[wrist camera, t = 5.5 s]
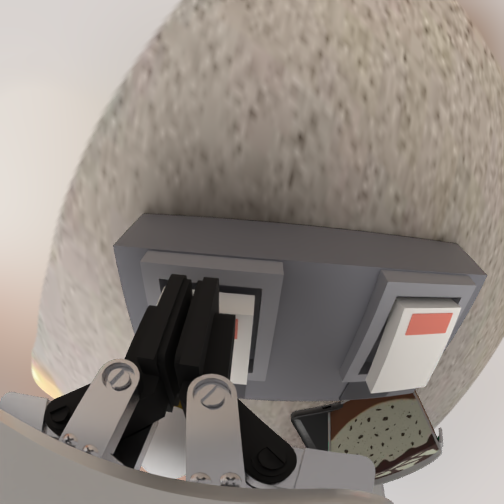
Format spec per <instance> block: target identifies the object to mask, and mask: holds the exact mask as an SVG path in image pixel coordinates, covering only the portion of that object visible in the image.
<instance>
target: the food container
mask: <svg viewBox="0 0 504 504" xmlns="http://www.w3.org/2000/svg"><path fill="white" fill-rule="evenodd" d="M341 404H343V408H341V409H339V410H334V411H332V412H329V413H328V451H330V452H337V453H345V454H355V455H362V456H366V457H368V458H369V459H370V460H372V462H373V464H374V466H375V480H374V486H377V485H380V484H384V483H387V482H390V481H393V480H396V479H399V478H401V477H404V476H406V475H408V474H411V473H413V472H415V471H417V470H419V469H421V468H423V467H425V466H427V465H428V464H430V463H431V462H433V461H434V460H436V459H437V458H438V457H439V456H440V455H441V454H442V450H441V448H442V447H443V437H442V429H441V428H439V436H438V438H437V436H436V434H435V432H434V429H433V427H432V425H431V422H430V420H429V418H428V416H427V414H426V411H425V409H424V407H423V405H422V403H421V401H420V399H419V397H418V395H417V393H416V391H414V392H413V393H410V394H403V395H396V396H388V397H379V398H368V399H356V400H344V401H342V402H341ZM329 408H331V407H329Z"/></svg>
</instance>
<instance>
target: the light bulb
mask: <svg viewBox="0 0 504 504" xmlns="http://www.w3.org/2000/svg"><path fill="white" fill-rule="evenodd" d="M141 466H142V467H143V468H144V469H145V470H146V471H147V472H149V473H151V474H155V475H159V476H164V477H168V478H173V479H176V478H180V477H183V476H185V475H186V418H185V415H184V412H183V409H182V405H181V402H179V405H178V406H174V407H173V411H172V413H171V412H166V414H165V417H163V418H162V419H160V420H159V424H158V427H157V429H156V431H155V434H154V436H153V438H152V441H151V443H150V446H149V448H148V451H147V453H146V455H145V458H144V460H143V463H142V465H141Z"/></svg>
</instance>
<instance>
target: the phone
mask: <svg viewBox="0 0 504 504" xmlns="http://www.w3.org/2000/svg"><path fill="white" fill-rule="evenodd" d="M328 406H331V408H326V409H323V407H328ZM341 408H343V404H341V402H339V403H334V404H330V405H325V406H320V407H315V408H309V409H304V410H298V411H295V412H293V413H292V414H291V422H292V423H293V425H294V427H295V429H296V430H297V432H298V434H299V436H300V437H301V439H302V441H303V442H304V444H305V446H306V448H310V449H316V450H323V451H328V413H329V412H332V411H334V410H339V409H341Z"/></svg>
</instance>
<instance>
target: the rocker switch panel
mask: <svg viewBox="0 0 504 504" xmlns="http://www.w3.org/2000/svg"><path fill="white" fill-rule="evenodd" d="M113 247H114V252H115V258H116V263H117V267H118V272H119V276H120V281H121V285H122V289H123V293H124V297H125V301H126V305H127V309H128V313H129V316H130V320H131V323H132V327H133V330H134V334H135V333H136V331H137V329H138V327H139V324H140V322H141V320H142V318H143V316H144V313H145V311H146V309H147V307H148V306H149V305H153V306H156V304H157V302H158V300H159V298H160V295H161V293H162V291H163V288H164V286H166V284H167V282H168V280H169V278H170V276H171V274H180V275H186V276H187V279H191V281H192V290H195V288H196V285H197V282H198V280H202V281H203V278H204V277H212V278H219V292H222V293H233V294H244V295H255V301H254V316H253V326H252V336H251V346H250V356H249V365H248V375H247V385H243V384H233V385H234V386H235V388H236V392H237V398H241V399H254V400H271V401H339V400H356V399H368V398H379V397H388V396H396V395H403V394H410V393H413V392H414V391H415V389H416V388H413V389H406V390H399V391H391V392H381V393H370V390H369V388H368V385H367V383H366V377H367V375H368V372H369V370H370V367H371V365H372V362H373V360H374V357H375V355H376V352H377V349H378V346H379V344H380V341H381V338H382V335H383V332H384V329H385V326H386V323H387V320H388V317H389V314H390V311H391V308H392V306H393V304H394V301H395V299H396V297H415V298H451V299H452V300H453V301H454V302H456V303H457V304H458V305H459V306H460V307H461V310H460V313H459V316H458V318H457V321H456V323H455V326H454V328H453V331H452V333H451V335H450V338H449V340H448V342H447V345H446V347H445V349H446V348H447V346H448V345H449V343H450V342H451V340H452V339H453V337H454V335H455V334H456V332H457V331H458V329H459V327H460V326H461V324H462V322H463V321H464V319H465V317H466V315H467V314H468V312H469V310H470V308H471V307H472V305H473V303H474V301H475V299H476V297H477V295H478V293H479V291H480V289H481V287H482V285H483V283H484V281H485V279H486V277H487V274H486V273H485V272H484V271H483V270H482V269H481V268H480V267H479V266H478V265H477V264H476V263H475V262H474V260H473V259H472V258H471V257H470V256H469V255H468V254H467V253H466V252H465V251H464V250H463V249H462V248H461V247H460V246H459V245H458V244H455V243H448V242H441V241H434V240H427V239H420V238H412V237H404V236H397V235H389V234H380V233H372V232H363V231H355V230H346V229H336V228H327V227H317V226H307V225H297V224H286V223H275V222H263V221H251V220H238V219H225V218H210V217H195V216H179V215H161V214H142V215H141V216H140V217H139V218H138V219H137V221H136V222H135V223H134V224H133V225H132V226H131V227H130V228H129V229H128V230H127V231H126V232H125V233H124V234H123V235H122V236H121V237H120V238H119V240H118V241H117V242H116V243H115V244H114V245H113ZM445 349H444V351H445ZM444 351H443V352H444ZM442 354H443V353H442Z"/></svg>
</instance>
